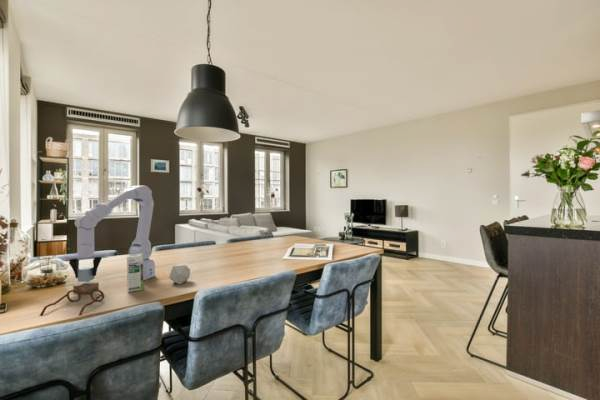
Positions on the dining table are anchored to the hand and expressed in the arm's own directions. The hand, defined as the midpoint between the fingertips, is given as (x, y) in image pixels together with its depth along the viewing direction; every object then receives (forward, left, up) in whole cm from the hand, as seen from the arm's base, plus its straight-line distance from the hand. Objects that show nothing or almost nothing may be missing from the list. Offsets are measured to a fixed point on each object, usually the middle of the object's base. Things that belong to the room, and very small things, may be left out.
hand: (86, 276), depth 120 cm
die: (-32, -17, -6) cm, 37 cm away
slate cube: (0, 0, -2) cm, 2 cm away
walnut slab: (0, 0, -6) cm, 6 cm away
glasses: (-13, +17, -6) cm, 22 cm away
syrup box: (-19, -5, -6) cm, 20 cm away
